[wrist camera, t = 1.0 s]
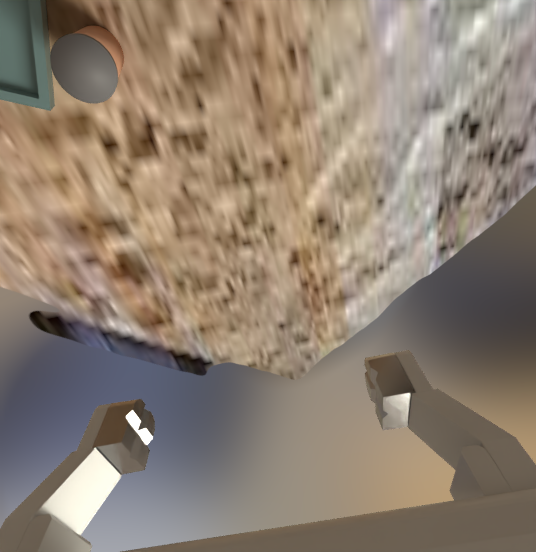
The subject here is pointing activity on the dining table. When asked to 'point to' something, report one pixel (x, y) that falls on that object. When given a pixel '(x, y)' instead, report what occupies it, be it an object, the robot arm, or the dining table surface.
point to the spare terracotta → (88, 63)
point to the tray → (25, 54)
